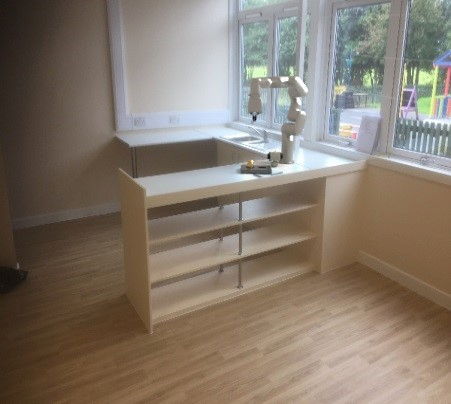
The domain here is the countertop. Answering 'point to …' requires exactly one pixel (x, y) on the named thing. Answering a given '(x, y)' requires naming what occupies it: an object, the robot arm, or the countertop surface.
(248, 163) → the bushing
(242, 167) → the jig
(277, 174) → the countertop surface
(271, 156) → the pneumatic valve
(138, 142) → the countertop surface
